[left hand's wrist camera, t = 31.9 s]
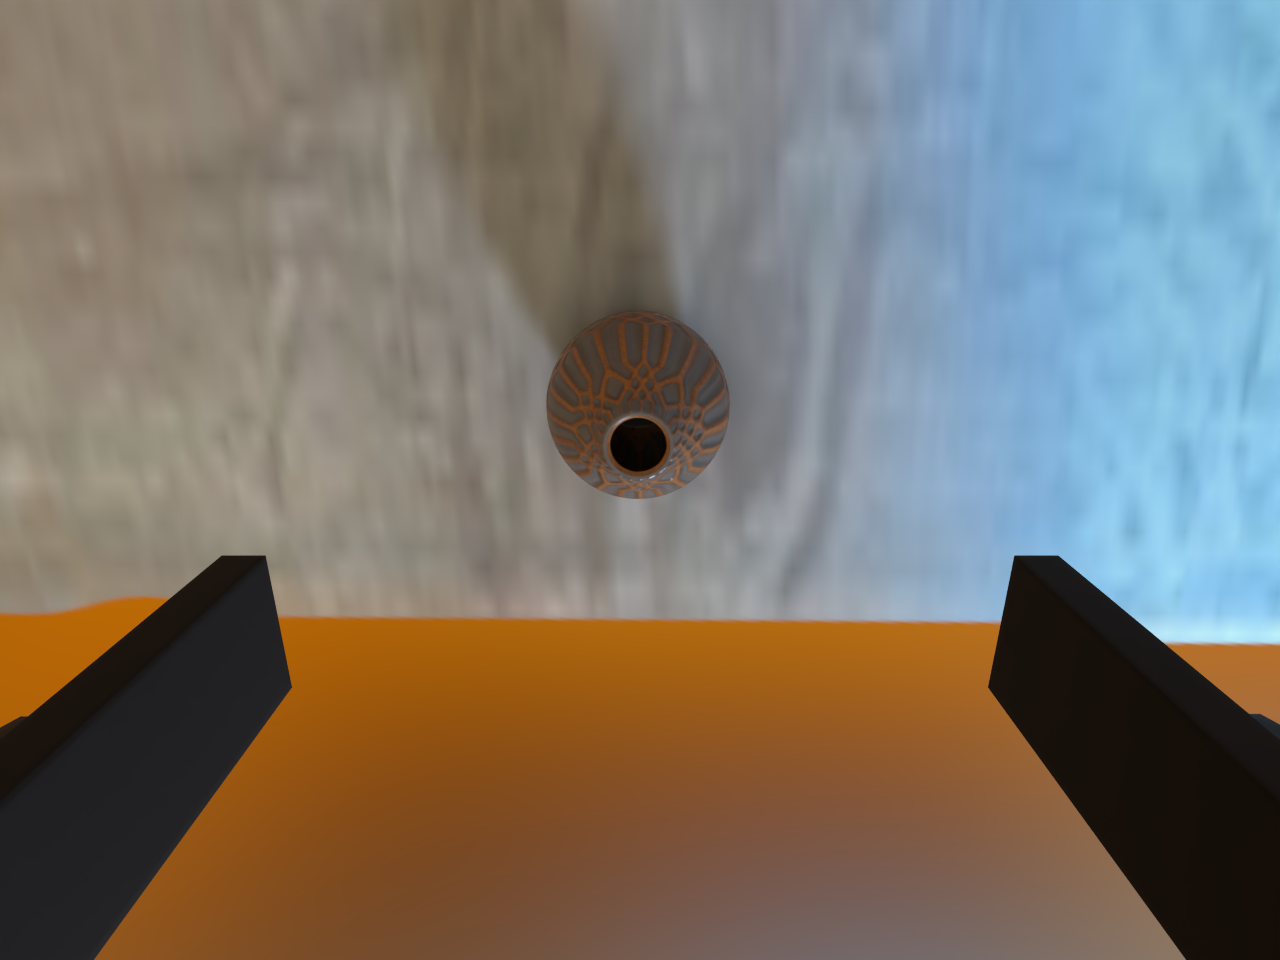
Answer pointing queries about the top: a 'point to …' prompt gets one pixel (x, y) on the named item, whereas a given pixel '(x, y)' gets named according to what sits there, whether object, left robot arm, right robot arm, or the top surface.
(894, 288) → the top surface
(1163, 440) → the top surface
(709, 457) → the lattice patterned pot
